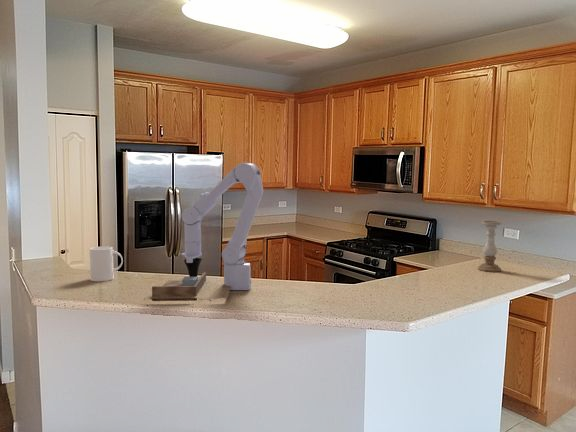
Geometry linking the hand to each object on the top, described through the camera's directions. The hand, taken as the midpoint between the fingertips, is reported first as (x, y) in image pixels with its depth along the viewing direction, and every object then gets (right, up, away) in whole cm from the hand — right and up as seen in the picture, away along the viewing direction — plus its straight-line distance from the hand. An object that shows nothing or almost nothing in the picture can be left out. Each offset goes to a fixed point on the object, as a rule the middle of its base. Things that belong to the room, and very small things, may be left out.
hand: (193, 278), depth 161 cm
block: (0, -2, -7) cm, 7 cm away
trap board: (-3, -3, -8) cm, 9 cm away
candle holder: (+118, 0, +28) cm, 121 cm away
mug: (-35, -2, +11) cm, 37 cm away
